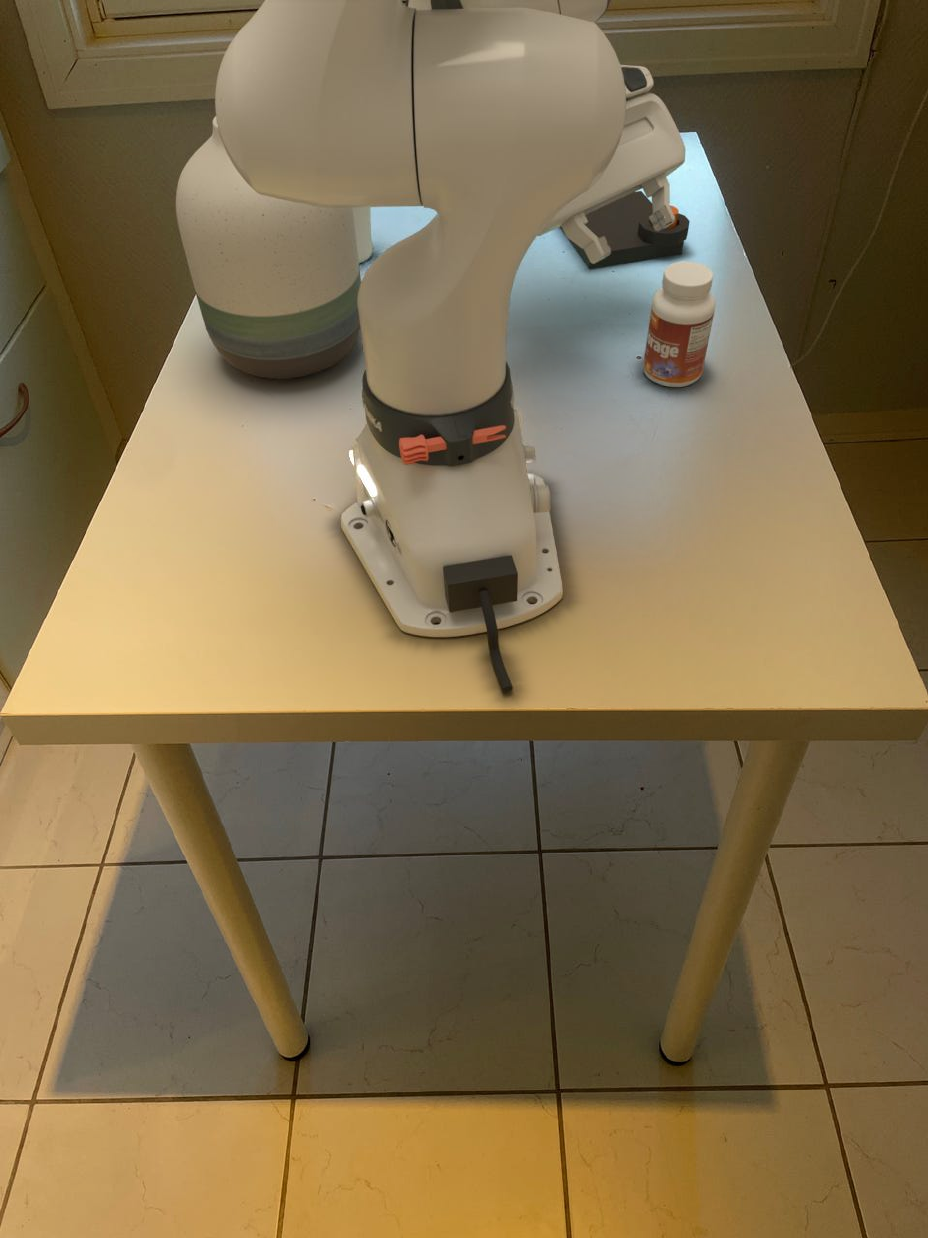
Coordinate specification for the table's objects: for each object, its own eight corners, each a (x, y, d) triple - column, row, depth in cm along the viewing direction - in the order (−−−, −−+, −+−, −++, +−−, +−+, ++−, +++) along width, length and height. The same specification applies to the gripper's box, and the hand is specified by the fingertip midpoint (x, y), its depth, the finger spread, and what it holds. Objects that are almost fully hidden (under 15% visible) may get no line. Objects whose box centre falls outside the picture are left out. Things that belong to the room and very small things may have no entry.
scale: (692, 256, 113) (697, 228, 111) (591, 272, 111) (594, 244, 109) (646, 203, 123) (649, 176, 120) (553, 217, 121) (554, 190, 118)
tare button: (680, 228, 112) (682, 213, 110) (657, 231, 111) (658, 217, 110) (670, 217, 114) (672, 202, 112) (647, 220, 113) (649, 206, 112)
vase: (399, 352, 101) (378, 117, 83) (267, 415, 94) (213, 174, 76) (312, 293, 110) (276, 69, 92) (185, 347, 103) (119, 116, 85)
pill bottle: (630, 368, 98) (642, 269, 90) (674, 349, 100) (690, 250, 92) (669, 396, 94) (686, 296, 86) (714, 376, 97) (734, 276, 88)
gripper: (507, 122, 83) (579, 265, 85) (659, 63, 91) (721, 194, 93) (474, 159, 88) (543, 292, 91) (621, 100, 97) (680, 223, 99)
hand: (635, 242), depth 92 cm, fingers open, 8 cm apart
